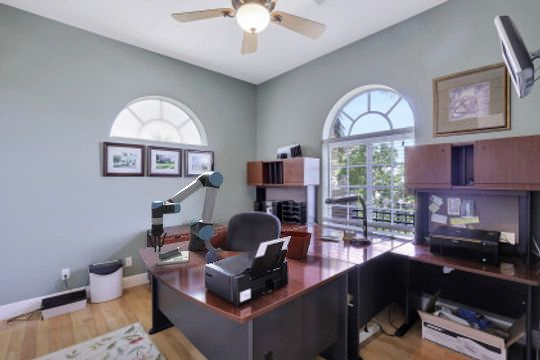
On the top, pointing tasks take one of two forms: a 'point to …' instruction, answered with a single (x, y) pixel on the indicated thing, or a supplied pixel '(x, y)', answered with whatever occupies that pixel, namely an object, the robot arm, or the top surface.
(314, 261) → the top surface
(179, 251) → the ball-tipped lever
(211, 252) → the seal
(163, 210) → the robot arm
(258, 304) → the top surface
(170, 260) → the dial board
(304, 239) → the plant pot
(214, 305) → the top surface
